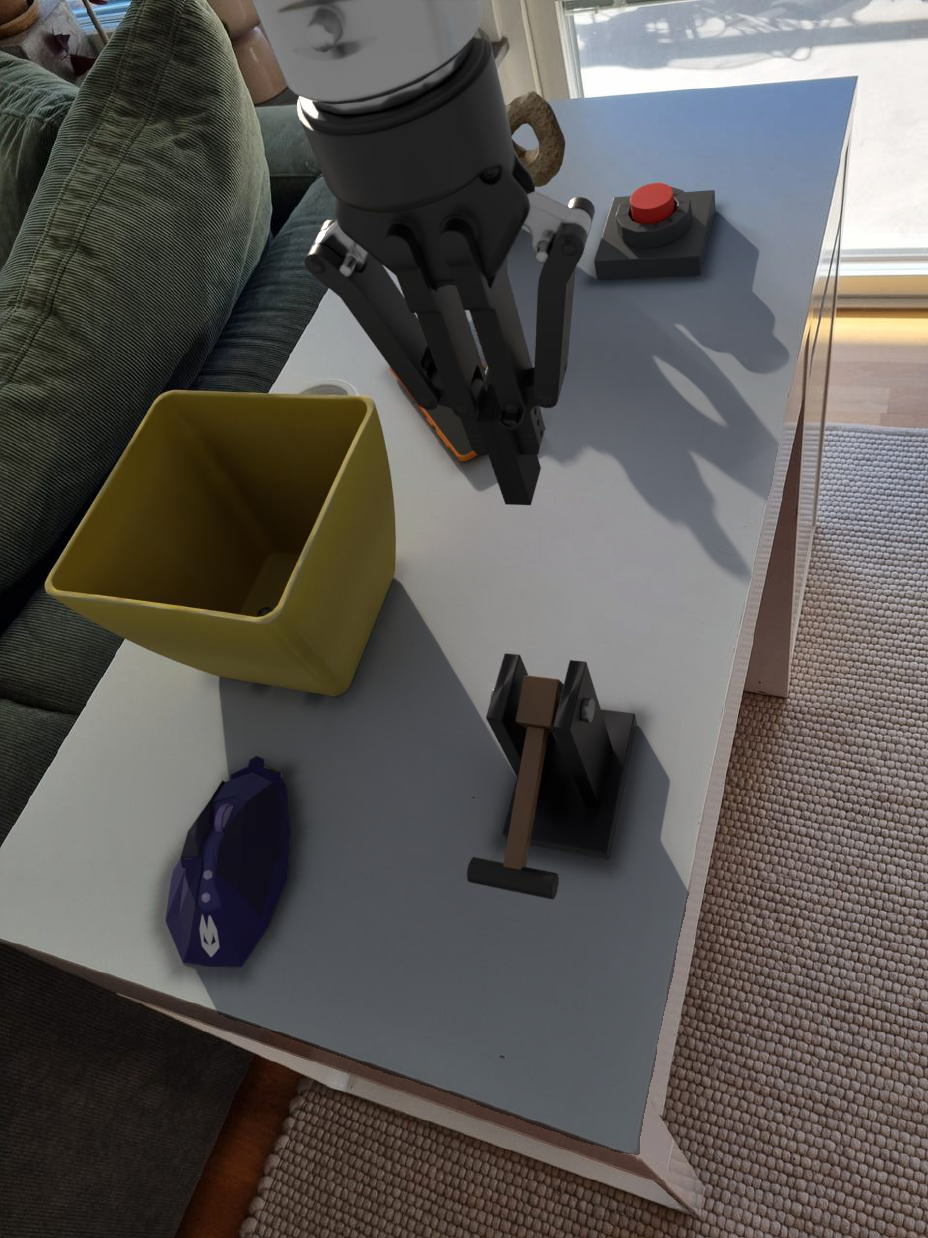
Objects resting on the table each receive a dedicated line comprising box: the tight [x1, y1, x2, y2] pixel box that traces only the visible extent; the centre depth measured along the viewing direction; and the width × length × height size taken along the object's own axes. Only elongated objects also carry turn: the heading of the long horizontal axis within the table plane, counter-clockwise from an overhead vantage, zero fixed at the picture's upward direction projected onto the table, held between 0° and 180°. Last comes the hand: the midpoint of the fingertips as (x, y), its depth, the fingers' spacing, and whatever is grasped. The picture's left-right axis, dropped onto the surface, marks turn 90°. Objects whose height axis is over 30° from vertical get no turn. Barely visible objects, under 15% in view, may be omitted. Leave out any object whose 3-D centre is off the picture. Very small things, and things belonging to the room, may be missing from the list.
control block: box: [593, 186, 717, 281], centre depth 91 cm, size 10×10×4 cm
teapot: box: [505, 90, 566, 188], centre depth 96 cm, size 21×12×15 cm, turn 82°
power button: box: [630, 182, 675, 224], centre depth 89 cm, size 4×4×2 cm
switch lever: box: [466, 674, 564, 900], centre depth 54 cm, size 12×5×2 cm, turn 164°
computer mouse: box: [165, 755, 292, 968], centre depth 66 cm, size 9×15×4 cm, turn 172°
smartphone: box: [389, 360, 492, 462], centre depth 88 cm, size 8×17×1 cm, turn 27°
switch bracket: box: [485, 652, 638, 860], centre depth 59 cm, size 10×7×13 cm
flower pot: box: [44, 389, 397, 697], centre depth 71 cm, size 19×19×17 cm
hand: (523, 485), depth 53 cm, fingers closed
